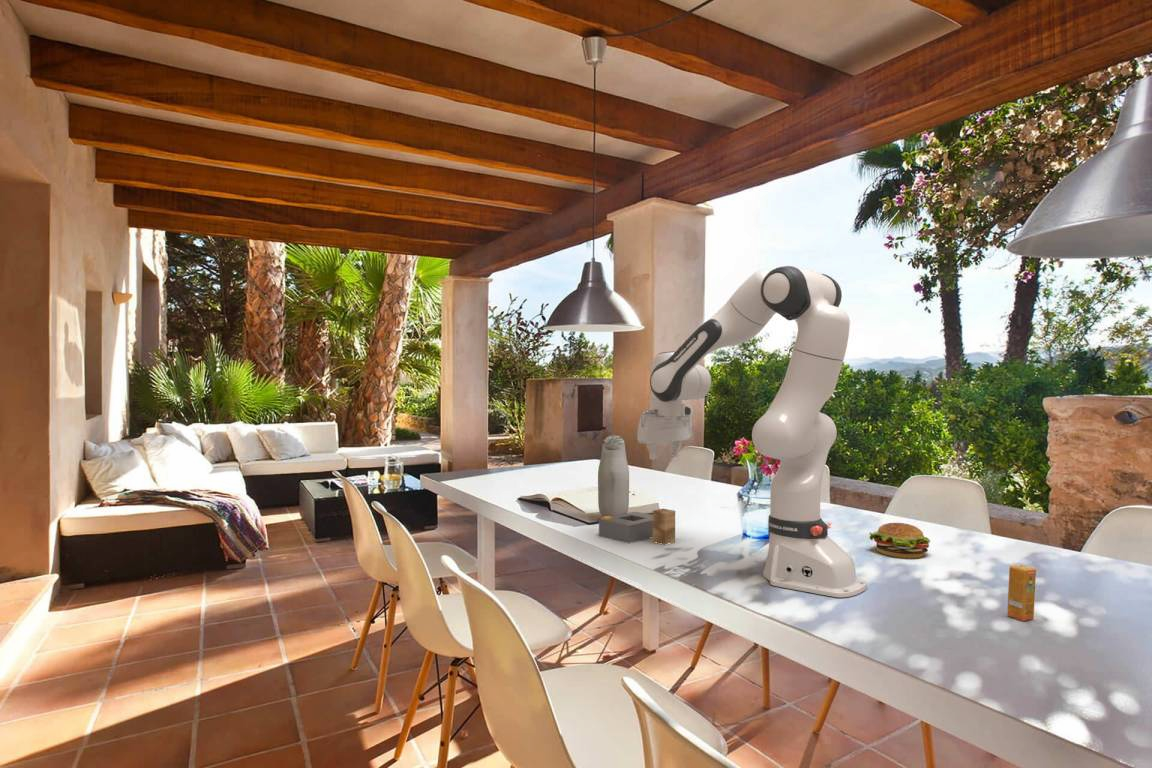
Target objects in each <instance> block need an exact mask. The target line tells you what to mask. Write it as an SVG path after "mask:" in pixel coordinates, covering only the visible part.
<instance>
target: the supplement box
mask: <svg viewBox="0 0 1152 768" xmlns="http://www.w3.org/2000/svg"><path fill="white" fill-rule="evenodd" d="M1008 572H1009V573H1008V574H1009V575H1008V591H1007V592H1008V593H1007V616H1008V617H1010V618H1012V619H1015V620H1018V621H1020V622H1026V621H1031V620H1034V619H1035V618H1034V616H1035V613H1034V612H1035V596H1036V595H1035V593H1036V580H1037V579H1036V575H1037V569H1036V568H1034V567H1031V566H1028V565H1025V564H1021V563H1019V564H1015V565H1010V566H1009V571H1008Z"/></svg>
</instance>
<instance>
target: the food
mask: <svg viewBox="0 0 1152 768" xmlns="http://www.w3.org/2000/svg"><path fill="white" fill-rule="evenodd" d="M869 539H870V540H871V541H874V542H875V543H876V544H875V545H876V546H875V547H876V548H875V549H876V551H877V553H880V554H881V555H884V556H887V555H888V556H887V557H892V558H900V559H918V558H923V557H924V556H925V555H926V552H928V549H929V547H930V543H931V540H930V538H928V537H926V536H925V535H924V533H923V531H922V530H921V529H920V528H919V527H917V526H916V525H913V524H909V523H904V522H888V523H884V524H882V525H880V526H879V527H878V530H876V531H874V532H873V533H871V531H870V532H869Z"/></svg>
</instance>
